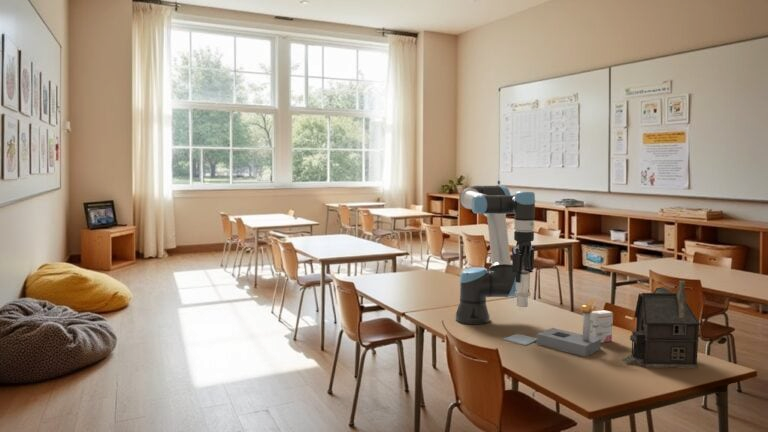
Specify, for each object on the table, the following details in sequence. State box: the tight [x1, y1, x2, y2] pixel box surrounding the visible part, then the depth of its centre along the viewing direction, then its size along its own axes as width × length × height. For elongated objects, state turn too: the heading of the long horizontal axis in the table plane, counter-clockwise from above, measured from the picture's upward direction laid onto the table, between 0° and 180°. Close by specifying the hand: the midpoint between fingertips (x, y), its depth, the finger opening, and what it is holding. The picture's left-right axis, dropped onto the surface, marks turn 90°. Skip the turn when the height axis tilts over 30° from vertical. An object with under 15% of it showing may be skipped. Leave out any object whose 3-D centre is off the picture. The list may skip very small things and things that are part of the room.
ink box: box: [589, 309, 614, 343], centre depth 221 cm, size 9×5×12 cm, turn 112°
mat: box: [503, 333, 537, 346], centre depth 222 cm, size 10×10×1 cm
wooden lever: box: [581, 298, 598, 314], centre depth 213 cm, size 16×4×5 cm, turn 149°
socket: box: [536, 312, 602, 358], centre depth 214 cm, size 20×12×15 cm, turn 44°
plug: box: [515, 269, 531, 308], centre depth 221 cm, size 6×6×14 cm
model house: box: [621, 280, 702, 369], centre depth 199 cm, size 16×23×30 cm
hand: (522, 289), depth 221 cm, fingers closed on plug, 4 cm apart
